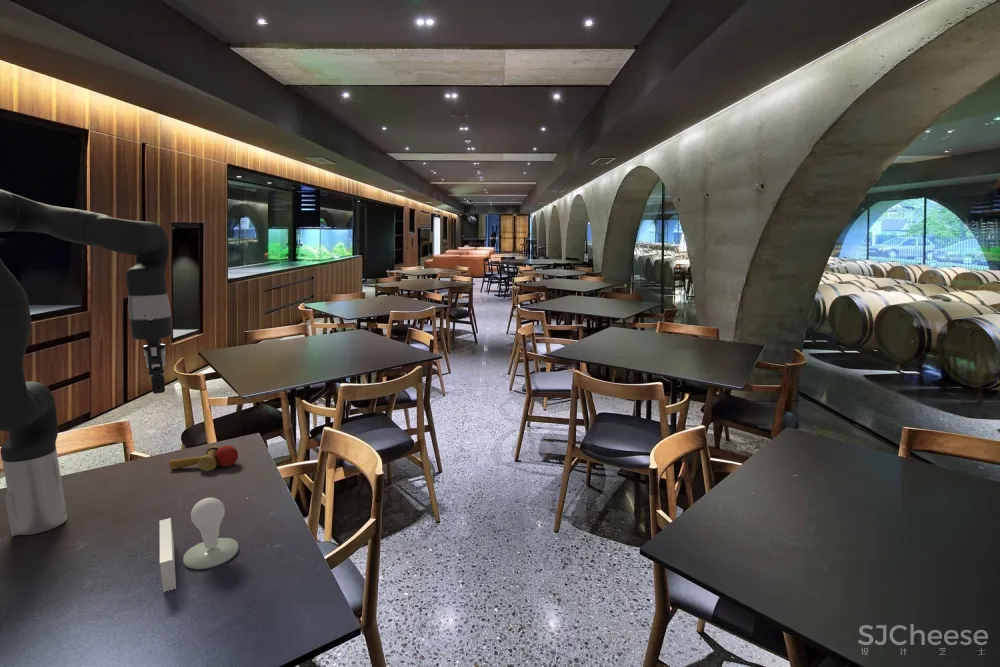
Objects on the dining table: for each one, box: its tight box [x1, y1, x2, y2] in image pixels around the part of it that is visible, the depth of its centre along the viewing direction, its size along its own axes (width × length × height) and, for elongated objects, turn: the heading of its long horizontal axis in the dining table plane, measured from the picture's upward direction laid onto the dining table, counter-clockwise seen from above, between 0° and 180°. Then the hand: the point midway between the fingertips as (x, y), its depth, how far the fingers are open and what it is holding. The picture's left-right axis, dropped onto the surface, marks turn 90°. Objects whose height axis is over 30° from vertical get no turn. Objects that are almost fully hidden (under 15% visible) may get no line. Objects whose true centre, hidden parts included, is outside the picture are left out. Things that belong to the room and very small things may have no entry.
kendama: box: [168, 445, 239, 471], centre depth 153 cm, size 8×6×18 cm
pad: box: [183, 537, 239, 570], centre depth 109 cm, size 10×10×1 cm
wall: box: [159, 517, 177, 593], centre depth 105 cm, size 2×18×6 cm, turn 33°
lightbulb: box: [190, 497, 226, 549], centre depth 109 cm, size 6×6×11 cm
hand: (159, 388), depth 117 cm, fingers open, 8 cm apart
